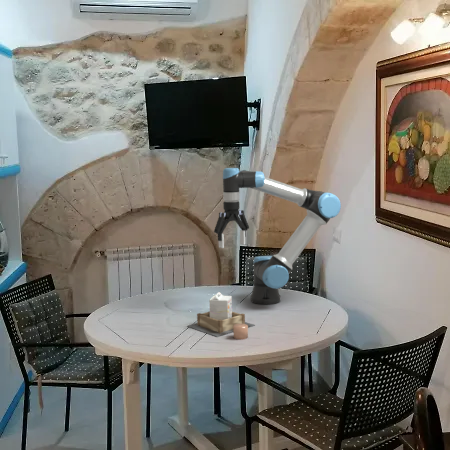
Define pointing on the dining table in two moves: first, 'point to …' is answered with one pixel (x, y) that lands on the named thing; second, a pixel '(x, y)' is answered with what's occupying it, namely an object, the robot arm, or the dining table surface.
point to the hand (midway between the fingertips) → (232, 245)
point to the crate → (218, 324)
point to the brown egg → (240, 331)
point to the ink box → (220, 307)
